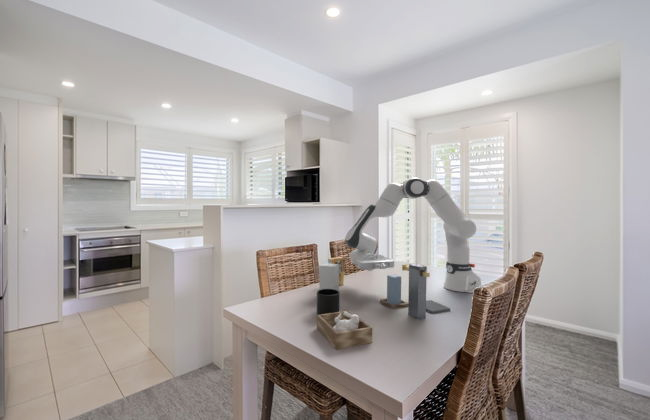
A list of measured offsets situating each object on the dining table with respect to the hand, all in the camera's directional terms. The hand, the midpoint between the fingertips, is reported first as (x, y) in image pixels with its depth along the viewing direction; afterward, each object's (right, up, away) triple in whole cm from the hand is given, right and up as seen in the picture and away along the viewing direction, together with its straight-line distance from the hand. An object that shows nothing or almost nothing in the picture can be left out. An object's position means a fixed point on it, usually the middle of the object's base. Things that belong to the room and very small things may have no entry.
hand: (383, 267), depth 146 cm
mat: (+19, -16, -11) cm, 27 cm away
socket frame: (+3, -16, -7) cm, 17 cm away
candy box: (-22, -15, +24) cm, 36 cm away
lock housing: (+9, -16, -22) cm, 29 cm away
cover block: (+3, -16, -7) cm, 17 cm away
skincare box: (-26, -15, +5) cm, 31 cm away
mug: (-27, -16, -18) cm, 36 cm away
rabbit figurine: (-20, -17, -41) cm, 49 cm away
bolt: (+9, +1, -21) cm, 23 cm away
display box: (-22, -16, -40) cm, 49 cm away
